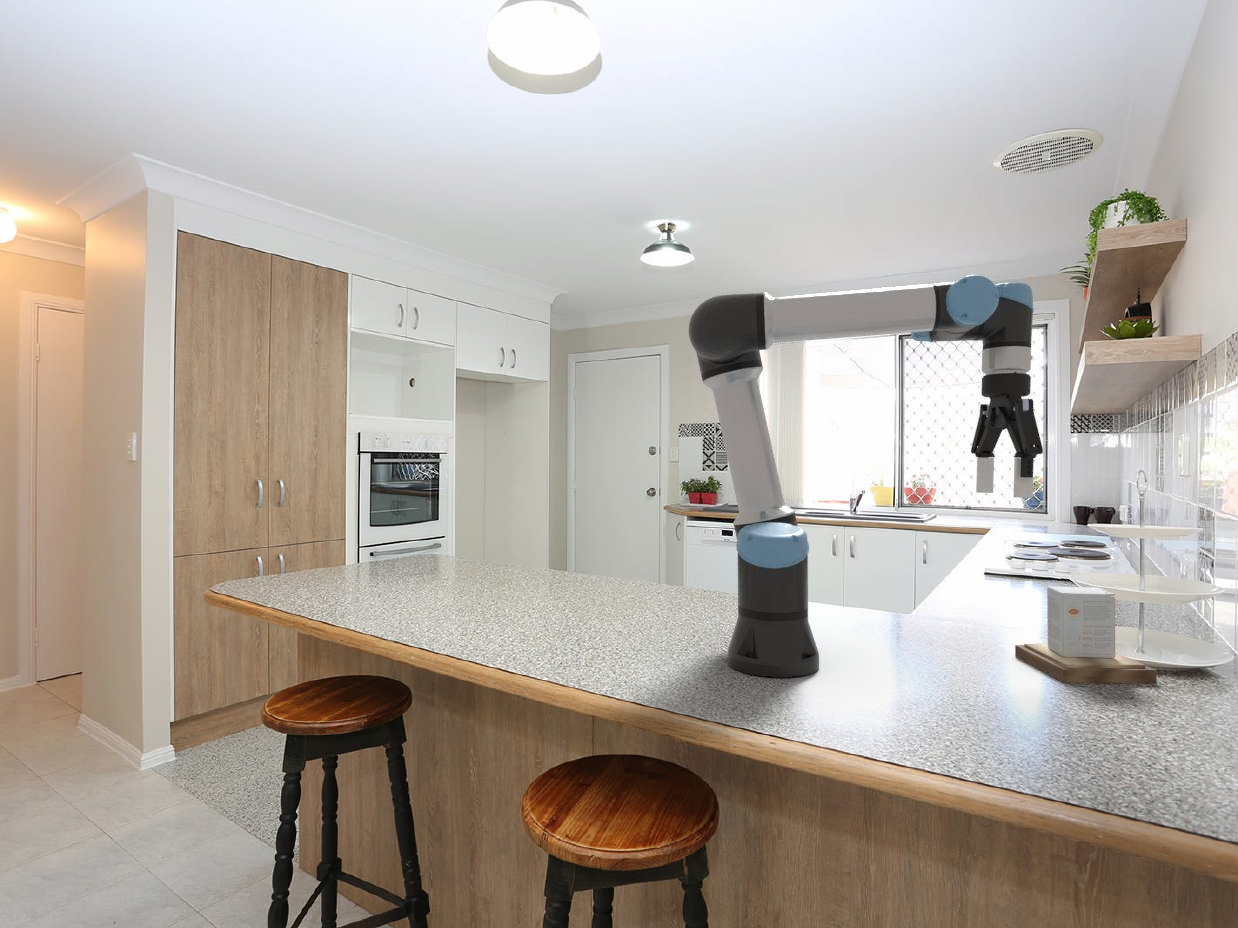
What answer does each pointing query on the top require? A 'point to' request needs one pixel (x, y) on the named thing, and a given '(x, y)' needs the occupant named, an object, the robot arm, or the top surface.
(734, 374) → the robot arm
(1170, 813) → the top surface
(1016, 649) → the stand
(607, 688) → the top surface
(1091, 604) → the small box
